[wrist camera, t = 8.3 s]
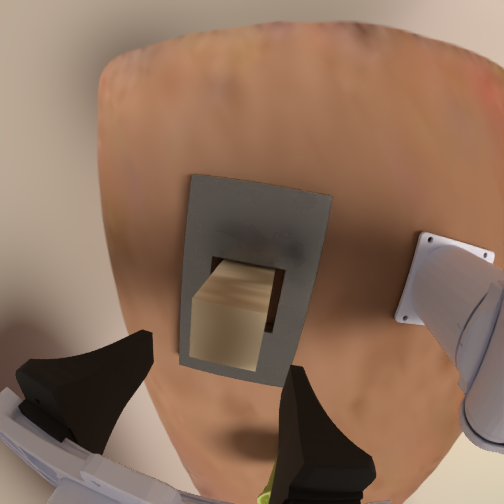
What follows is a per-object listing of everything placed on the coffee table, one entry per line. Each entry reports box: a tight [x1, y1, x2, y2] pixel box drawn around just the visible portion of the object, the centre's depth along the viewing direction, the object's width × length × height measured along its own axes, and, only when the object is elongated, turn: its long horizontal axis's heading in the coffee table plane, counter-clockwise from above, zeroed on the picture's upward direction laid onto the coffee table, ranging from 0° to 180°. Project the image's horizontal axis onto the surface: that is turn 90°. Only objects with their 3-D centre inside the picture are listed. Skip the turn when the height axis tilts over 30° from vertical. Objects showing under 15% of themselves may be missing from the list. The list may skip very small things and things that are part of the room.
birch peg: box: [189, 258, 275, 371], centre depth 18 cm, size 4×4×8 cm
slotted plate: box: [179, 174, 332, 387], centre depth 22 cm, size 10×17×2 cm, turn 171°
